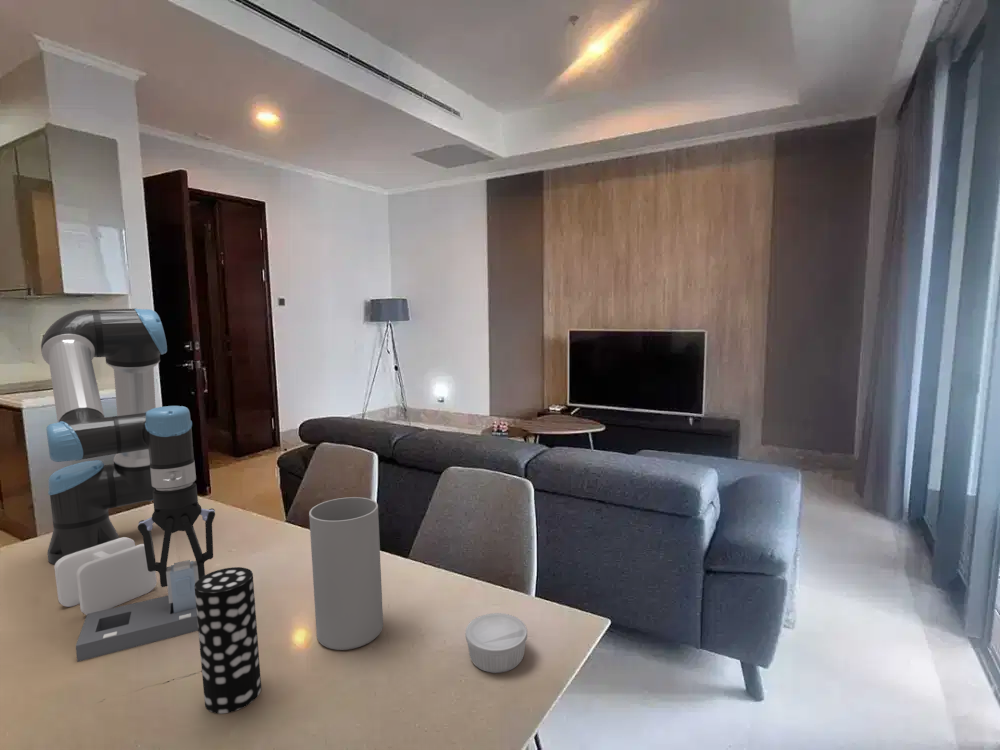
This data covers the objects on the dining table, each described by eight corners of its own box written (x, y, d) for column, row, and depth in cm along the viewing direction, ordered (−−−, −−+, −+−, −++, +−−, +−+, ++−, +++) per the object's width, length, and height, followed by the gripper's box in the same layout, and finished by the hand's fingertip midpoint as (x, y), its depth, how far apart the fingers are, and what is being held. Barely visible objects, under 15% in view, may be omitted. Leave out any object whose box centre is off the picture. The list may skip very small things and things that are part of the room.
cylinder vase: (395, 620, 111) (390, 500, 108) (360, 657, 99) (353, 524, 96) (342, 610, 115) (336, 494, 112) (302, 644, 103) (294, 517, 100)
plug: (175, 611, 112) (170, 562, 111) (197, 606, 114) (193, 557, 113) (174, 623, 108) (169, 572, 107) (197, 617, 110) (193, 567, 109)
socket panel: (89, 630, 109) (87, 613, 108) (213, 600, 119) (212, 584, 119) (77, 664, 98) (75, 645, 98) (215, 628, 109) (214, 610, 108)
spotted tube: (218, 679, 94) (208, 568, 91) (268, 676, 94) (260, 565, 92) (195, 715, 85) (184, 594, 83) (250, 711, 86) (241, 591, 84)
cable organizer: (80, 624, 111) (73, 570, 110) (58, 610, 117) (51, 558, 115) (158, 591, 124) (153, 542, 122) (135, 579, 129) (130, 532, 128)
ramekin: (507, 686, 91) (506, 657, 90) (453, 664, 97) (452, 636, 96) (538, 650, 100) (538, 623, 100) (487, 632, 106) (487, 606, 106)
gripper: (120, 498, 101) (132, 617, 104) (223, 483, 109) (232, 594, 112) (124, 487, 107) (136, 599, 110) (221, 473, 116) (230, 578, 118)
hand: (184, 596), depth 111 cm, fingers closed on plug, 4 cm apart
